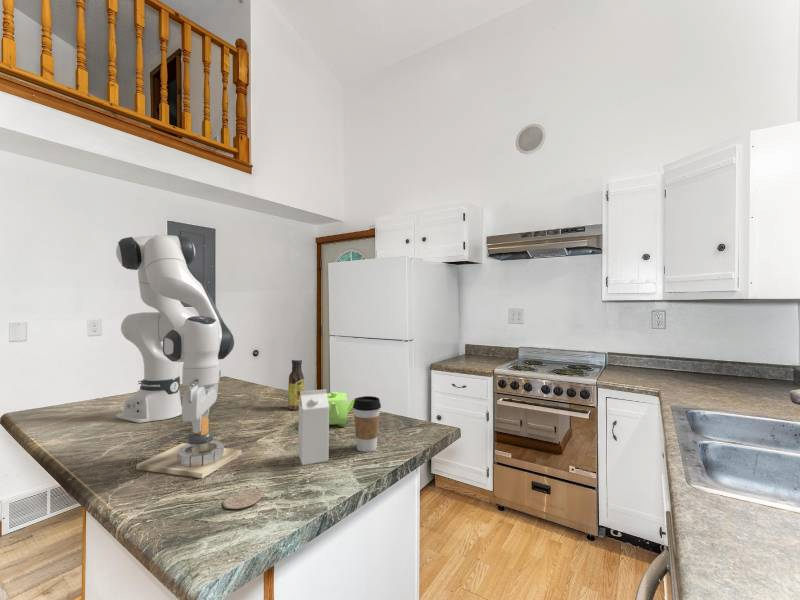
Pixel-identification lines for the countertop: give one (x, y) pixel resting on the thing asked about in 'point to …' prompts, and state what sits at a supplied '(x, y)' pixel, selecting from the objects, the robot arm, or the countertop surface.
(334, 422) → the kettle
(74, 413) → the countertop surface
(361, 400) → the coffee cup
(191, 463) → the faceted grey ring
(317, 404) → the milk carton
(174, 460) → the board
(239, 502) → the flatbread
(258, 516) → the countertop surface
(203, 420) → the orange dark-based block
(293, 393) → the sauce bottle
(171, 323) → the robot arm
